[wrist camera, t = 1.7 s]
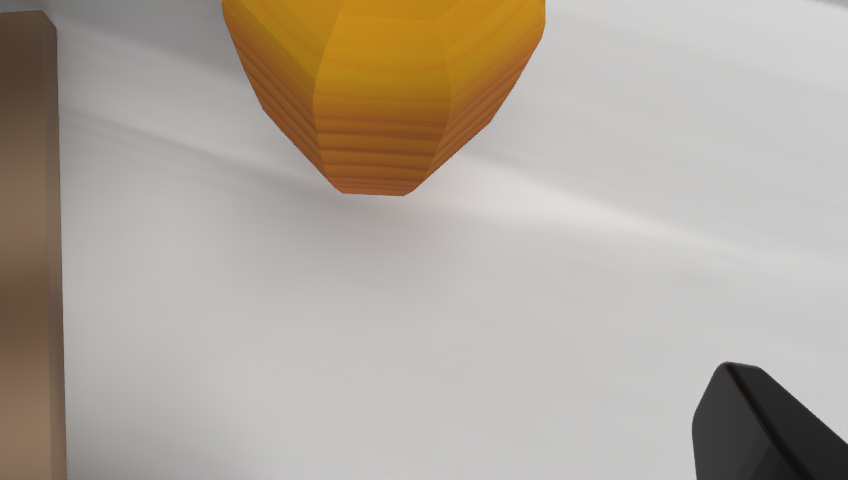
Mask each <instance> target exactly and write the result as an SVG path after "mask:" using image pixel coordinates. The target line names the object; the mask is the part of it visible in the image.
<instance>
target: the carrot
mask: <svg viewBox="0 0 848 480" xmlns="http://www.w3.org/2000/svg"><path fill="white" fill-rule="evenodd" d="M222 8H223V16H224V19H225V22H226V24H227V27H228V30H229V32H230V35H231V37H232V40H233V42H234V45H235V47H236V50H237V53H238V55H239V58H240V60H241V63H242V65H243V68H244V70H245V72H246V75H247V77H248V79H249V81H250V83H251V85H252V87H253V89H254V91H255V93H256V96H257V98H258V100H259V102H260V104H261V106H262V108H263V110H264V111H265V112H266V113H267V114H268V116H269V117H270V118H271V119H272V120H273V121H274V123H275V124H276V125H277V126H278V127H279V128H280V130H281V131H282V132H283V133H284V134H285V135H286V136H287V137H288V138H289V139H290V140H291V141H292V142H293V144H294V145H295V146H296V147H297V148H298V149H299V150H300V151H301V152H302V153H303V154H304V155H305V156H306V157H307V158H308V160H309V161H310V162H311V163H312V164H313V165H314V166H315V167H316V168H317V169H318V170H319V171H320V172H321V173H322V174H323V175H324V177H325V178H326V179H327V180H328V181H329V182H330V183H331V184H332V185H333V186H334V187H335V188H336V189H337V190H339V191H340V192H341V193H349V194H369V195H389V196H404V195H406V194H408V193H410V192H412V191H413V190H414V189H416V188H417V187H418V186H419V185H420V184H421V183H422V182H424V181H425V180H426V179H427V178H428V177H429V176H430V175H431V174H432V173H434V172H435V171H436V170H437V169H438V168H439V167H440V166H441V165H443V164H444V163H445V162H446V161H447V160H448V159H449V158H450V157H452V156H453V155H454V154H455V153H456V152H457V151H458V150H459V149H461V148H462V147H463V146H464V145H465V144H466V143H467V142H468V141H470V140H471V139H472V138H473V137H474V136H475V135H476V134H477V133H479V132H480V131H481V130H482V129H483V128H484V127H485V126H486V125H488V124H489V123H490V122H491V120H492V119H493V117H494V116H495V114H496V113H497V111H498V110H499V108H500V107H501V105H502V104H503V102H504V101H505V99H506V98H507V96H508V95H509V93H510V92H511V90H512V89H513V87H514V85H515V84H516V82H517V80H518V78H519V77H520V75H521V73H522V71H523V70H524V68H525V66H526V64H527V63H528V61H529V59H530V57H531V55H532V54H533V52H534V50H535V48H536V47H537V45H538V43H539V41H540V40H541V38H542V34H543V31H544V27H545V0H222Z"/></svg>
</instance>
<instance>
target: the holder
mask: <svg viewBox="0 0 848 480" xmlns="http://www.w3.org/2000/svg"><path fill="white" fill-rule="evenodd" d="M0 480H67V479H66V435H65V391H64V347H63V303H62V259H61V215H60V171H59V127H58V83H57V38H56V28H55V26H54V25H53V24H52V22H51V21H50V20H49V19H48V17H47V16H46V15H45V13H44V12H43V11H42V10H41V11H24V12H7V13H0Z"/></svg>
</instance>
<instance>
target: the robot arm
mask: <svg viewBox="0 0 848 480" xmlns="http://www.w3.org/2000/svg"><path fill="white" fill-rule="evenodd" d="M692 440H693V449H694V458H695V468H696V477H697V480H848V444H847V443H846V442H845V441H844V440H843V439H841V438H840V437H839V436H838V435H837V434H836V433H835V432H833V431H832V430H831V429H830V428H829V427H828V426H827V425H825V424H824V423H823V422H822V421H821V420H820V419H819V418H817V417H816V416H815V415H814V414H813V413H812V412H811V411H809V410H808V409H807V408H806V407H805V406H804V405H803V404H802V403H800V402H799V401H798V400H797V399H796V398H795V397H794V396H792V395H791V394H790V393H789V392H788V391H787V390H786V389H784V388H783V387H782V386H781V385H780V384H779V383H778V382H776V381H775V380H774V379H773V378H772V377H771V376H770V375H768V374H767V373H766V372H765V371H764V370H763V369H761V368H759V367H757V366H753V365H747V364H741V363H735V362H724V363H722V364H720V365H719V366H718V367H717V369H716V370H715V372H714V374H713V376H712V378H711V380H710V382H709V384H708V386H707V388H706V390H705V392H704V394H703V397H702V399H701V401H700V403H699V405H698V407H697V409H696V411H695V414H694V417H693V422H692Z"/></svg>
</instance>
